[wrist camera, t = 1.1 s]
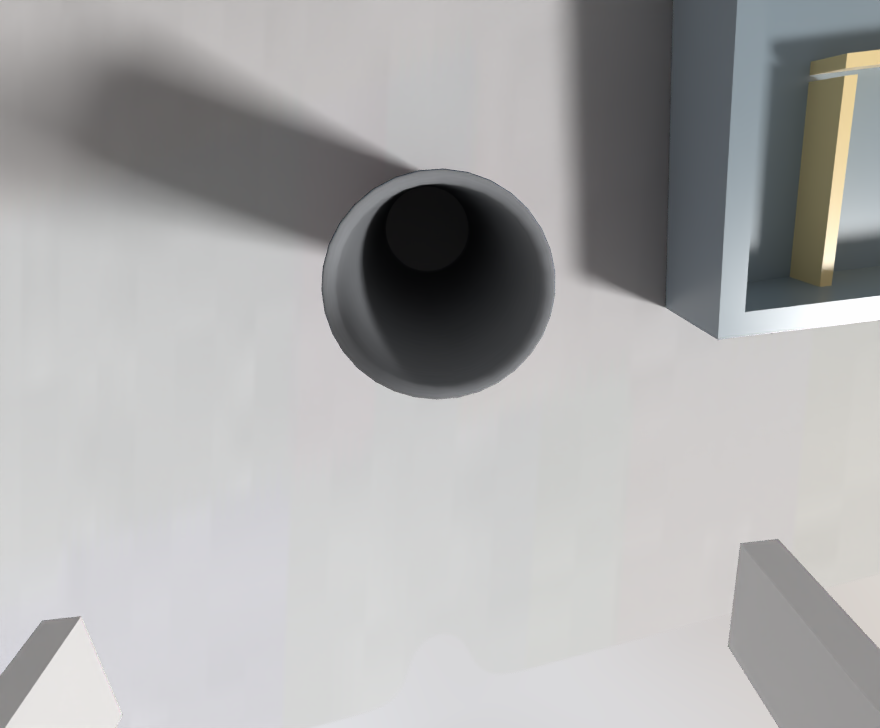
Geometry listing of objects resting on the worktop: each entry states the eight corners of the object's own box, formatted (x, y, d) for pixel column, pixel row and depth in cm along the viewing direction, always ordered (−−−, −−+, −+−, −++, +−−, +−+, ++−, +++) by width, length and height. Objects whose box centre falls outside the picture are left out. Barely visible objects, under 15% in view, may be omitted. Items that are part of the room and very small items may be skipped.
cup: (350, 173, 30) (294, 192, 16) (480, 150, 30) (543, 148, 16) (377, 301, 32) (349, 416, 18) (498, 279, 32) (565, 379, 18)
